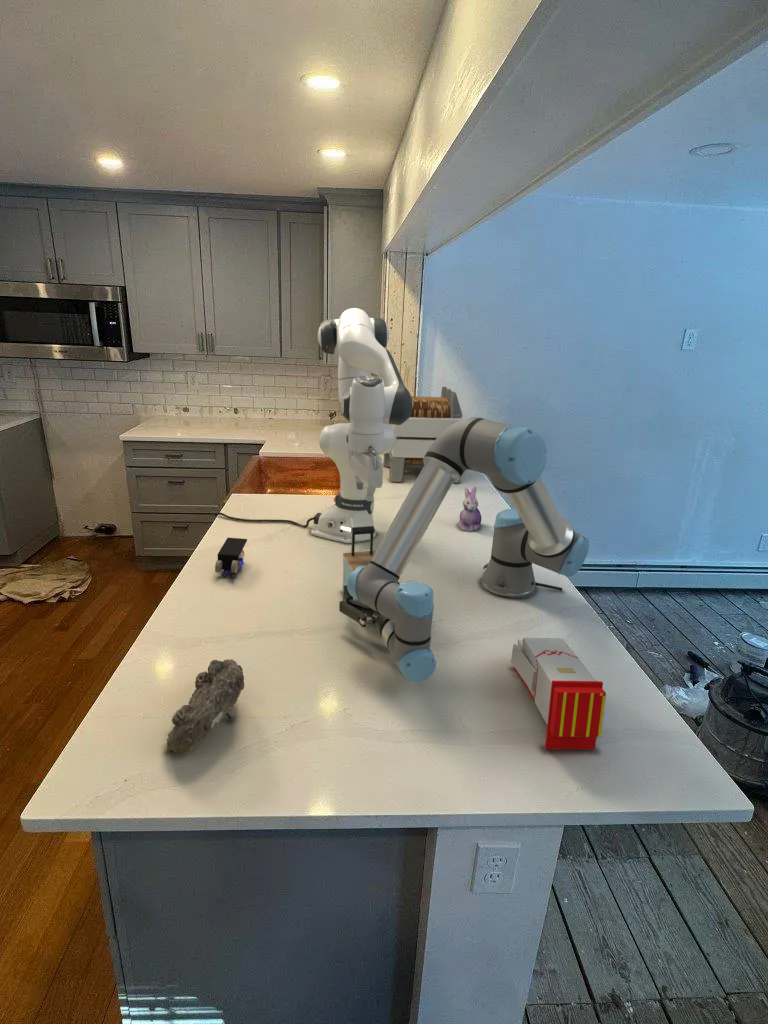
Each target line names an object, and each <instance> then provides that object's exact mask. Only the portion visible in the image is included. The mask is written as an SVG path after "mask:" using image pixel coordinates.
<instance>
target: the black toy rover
mask: <svg viewBox="0 0 768 1024" xmlns="http://www.w3.org/2000/svg"><path fill="white" fill-rule="evenodd" d="M247 542H248V538H240V537H226V539H225V541H224V543H223V544H222V546H221V547H220V549H219V551H218V552H217V560H216V562H215V564H214V572H215V573H221V577H222V578H224V577H225V576H226V574H227V573H230V574H231V573H232V574H231V578H234V577H235V575H236V573H237V572H239V571H240V567H242V566H243V565H244V564H245V562H244V558H245V551H244V547H245V546H246V544H247Z"/></svg>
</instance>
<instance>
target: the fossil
mask: <svg viewBox="0 0 768 1024" xmlns="http://www.w3.org/2000/svg"><path fill="white" fill-rule="evenodd" d="M243 670H244V669H243V667H242V665H240V664H237V662H236V661H235V660H234V659H232V658H231V659H227V658H226V659H224V660H223V661H222V660H217V659H212V660H211V661H210V663H209V665H208V666H207V671H201V672H199V673H198V674H197V675H196V676H195V680H194V684H195V685H194V687H195V689H194V690H193V693H192V694H191V697H190V698H189V700H188V704H184V705H182V706H181V707H180V709H177V710H176V711H175V713H174V715H173V716H172V718H171V723H172V724H173V727H172V730H171V731H170V732H168V734H167V738H166V741H167V742H166V745H167V749H168V750H169V751H173V752H174V753H176V754H178V753H182V752H188V751H189V752H192V751H193V750H195V748H196V747H197V746H199V744H200V743H201V742H203V741H204V740H205V739H206V738H207V737H208V736H209V735H210V734H211V733H212V732H214V730H215V729H217V727H218V726H219V724H220V722H221V721H222V720H223V719H224V718H225V716H226V717H227V719H229V720H233V717H232V715H230V714H229V710H230V709H231V708H234V706H235V704H236V703H237V702H238V699H239V697H240V695H241V693H242V691H243V690H245V689H244V688H245V675H244V671H243Z"/></svg>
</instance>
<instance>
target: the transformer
mask: <svg viewBox="0 0 768 1024" xmlns="http://www.w3.org/2000/svg"><path fill="white" fill-rule="evenodd" d="M440 393H441V394H440V396H415V395H414V396H413V395H411V398H412V414H411V417H410V418H409V419H408V420H407V421H405V422H404V423H403V424H401V425H392V424H389V425H390V426H391V427H392V428H393V430H394V431H395V434H396V444H395V446H394V448H393V450H392V451H391V452H390V453H386V454H383V462H382V465H383V466H384V467H388V468H389V475H388V476H389V477H388V478H389V480H390V482H391V483H402V482H403V475H404V469H405V466H406V467H407V466H411V467H412V466H413V467H415V466H416V467H417V466H418V467H424V462H423V458H424V456H425V454H426V453H427V451H428V449H429V448H430V446H431V445H432V444H433V442H434V441H435V440H436V439H437V438H438V437H439V435H440V434H442V433H443V432H444V431H445V430H446V429H447V428H448V427H450V426H451V425H453V424H454V423H456V422H458V421H460V420H462V419H463V411H462V408H461V405H460V402H459V398H458V395H457V392H455V391H453V390H452V389H451V388H447V386H442V387H441V392H440ZM455 483H456V484H459V483H461V479H460V480H457V481H454V482H453V483H452V484H455Z"/></svg>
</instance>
